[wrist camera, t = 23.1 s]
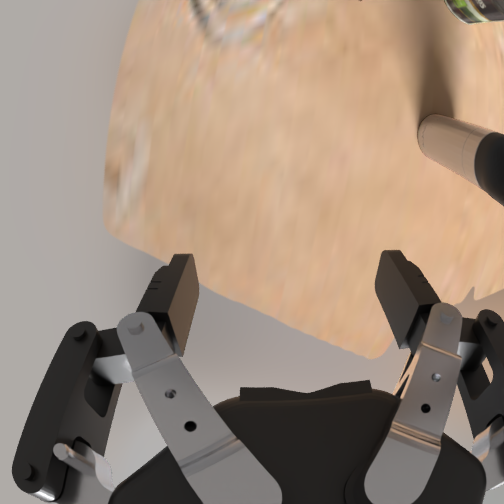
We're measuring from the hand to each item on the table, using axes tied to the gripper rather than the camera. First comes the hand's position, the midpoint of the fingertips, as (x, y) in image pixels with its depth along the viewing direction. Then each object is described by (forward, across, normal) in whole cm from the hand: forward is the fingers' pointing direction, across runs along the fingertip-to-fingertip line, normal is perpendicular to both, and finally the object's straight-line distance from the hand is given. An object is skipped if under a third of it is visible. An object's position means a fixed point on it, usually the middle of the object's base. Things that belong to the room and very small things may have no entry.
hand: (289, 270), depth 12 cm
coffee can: (+38, -40, -34) cm, 65 cm away
